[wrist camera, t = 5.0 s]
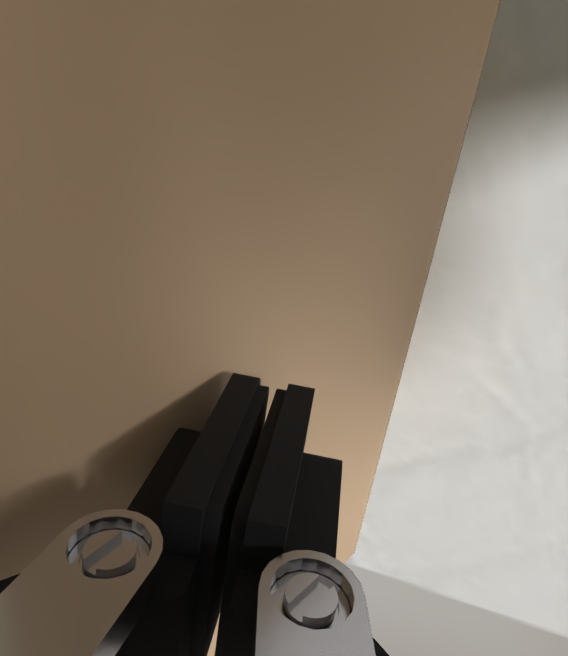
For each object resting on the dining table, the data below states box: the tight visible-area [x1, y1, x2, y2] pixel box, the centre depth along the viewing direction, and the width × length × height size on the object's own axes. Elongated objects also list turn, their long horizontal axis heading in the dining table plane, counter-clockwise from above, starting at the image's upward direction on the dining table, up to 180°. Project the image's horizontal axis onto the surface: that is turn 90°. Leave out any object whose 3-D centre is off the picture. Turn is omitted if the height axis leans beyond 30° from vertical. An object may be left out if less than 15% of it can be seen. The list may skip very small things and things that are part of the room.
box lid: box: [0, 0, 500, 656], centre depth 11 cm, size 21×17×1 cm
